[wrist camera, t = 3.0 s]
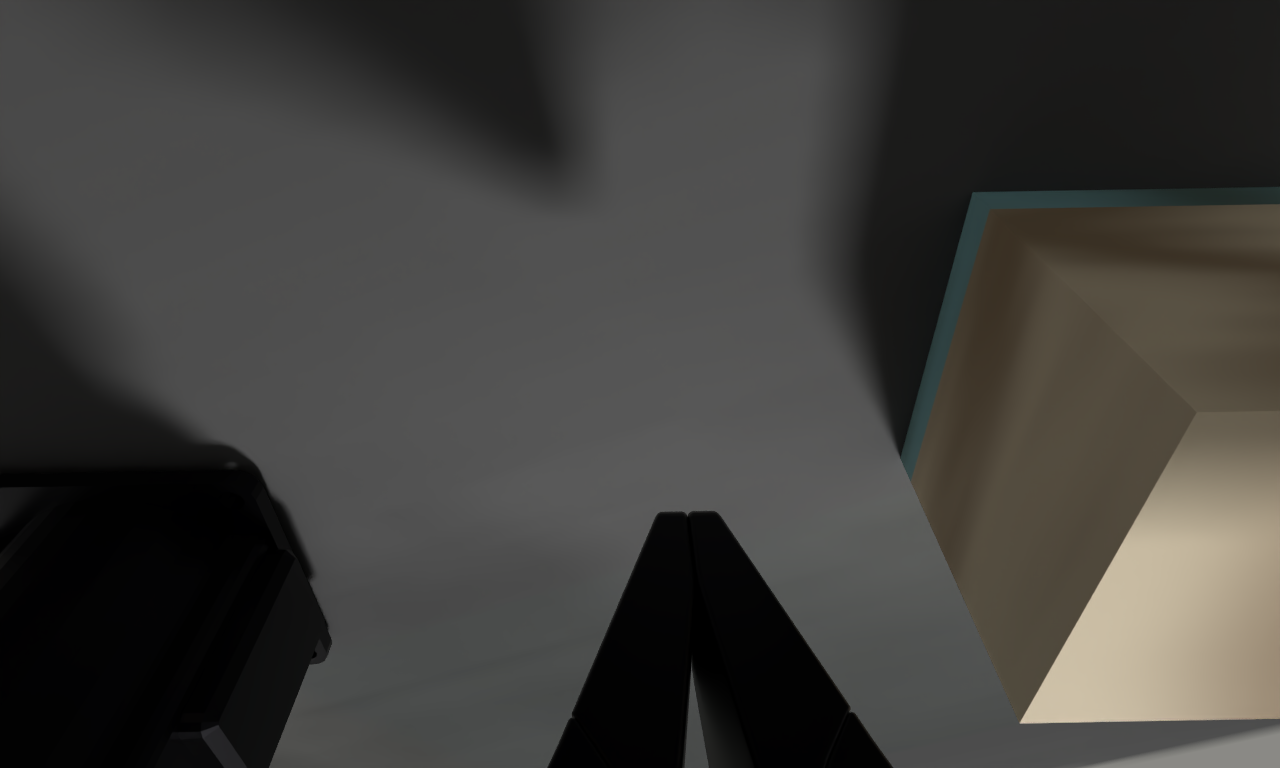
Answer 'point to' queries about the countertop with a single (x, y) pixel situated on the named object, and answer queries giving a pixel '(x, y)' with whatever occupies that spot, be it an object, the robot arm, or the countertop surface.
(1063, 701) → the maple cube
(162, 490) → the robot arm
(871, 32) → the countertop surface
